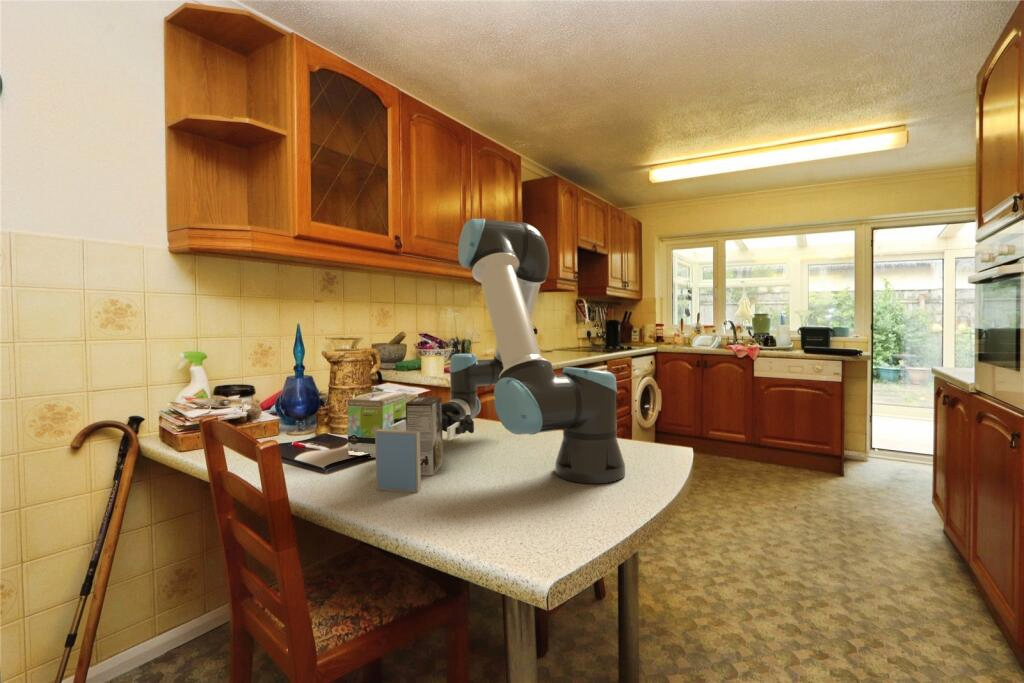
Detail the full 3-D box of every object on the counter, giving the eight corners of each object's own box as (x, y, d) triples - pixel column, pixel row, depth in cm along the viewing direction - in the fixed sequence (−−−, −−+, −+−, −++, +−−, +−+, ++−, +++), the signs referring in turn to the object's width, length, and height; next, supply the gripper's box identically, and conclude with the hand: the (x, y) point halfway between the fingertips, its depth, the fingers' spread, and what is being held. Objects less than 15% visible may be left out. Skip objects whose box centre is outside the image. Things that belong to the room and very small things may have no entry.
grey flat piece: (420, 490, 97) (419, 430, 97) (417, 492, 96) (416, 432, 95) (379, 487, 99) (378, 429, 99) (375, 490, 98) (374, 430, 97)
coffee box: (417, 463, 116) (416, 396, 116) (443, 463, 116) (442, 396, 115) (405, 475, 107) (404, 402, 106) (434, 475, 106) (433, 402, 106)
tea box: (383, 458, 121) (382, 399, 120) (346, 456, 123) (345, 398, 122) (408, 443, 135) (407, 391, 135) (375, 442, 137) (373, 390, 137)
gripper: (497, 430, 127) (473, 452, 106) (409, 427, 132) (369, 447, 111) (497, 402, 126) (473, 418, 106) (408, 399, 132) (368, 414, 111)
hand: (419, 432), depth 109 cm, fingers open, 13 cm apart
